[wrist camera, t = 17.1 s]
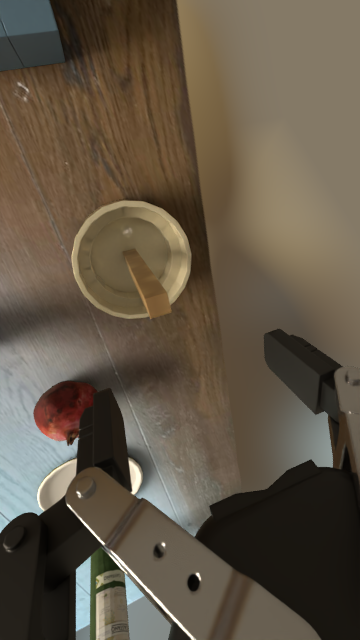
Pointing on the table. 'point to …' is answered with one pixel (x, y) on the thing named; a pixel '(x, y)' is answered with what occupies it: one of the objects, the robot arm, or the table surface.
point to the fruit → (63, 410)
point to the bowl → (121, 235)
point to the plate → (64, 474)
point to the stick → (147, 285)
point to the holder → (28, 34)
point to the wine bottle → (107, 599)
